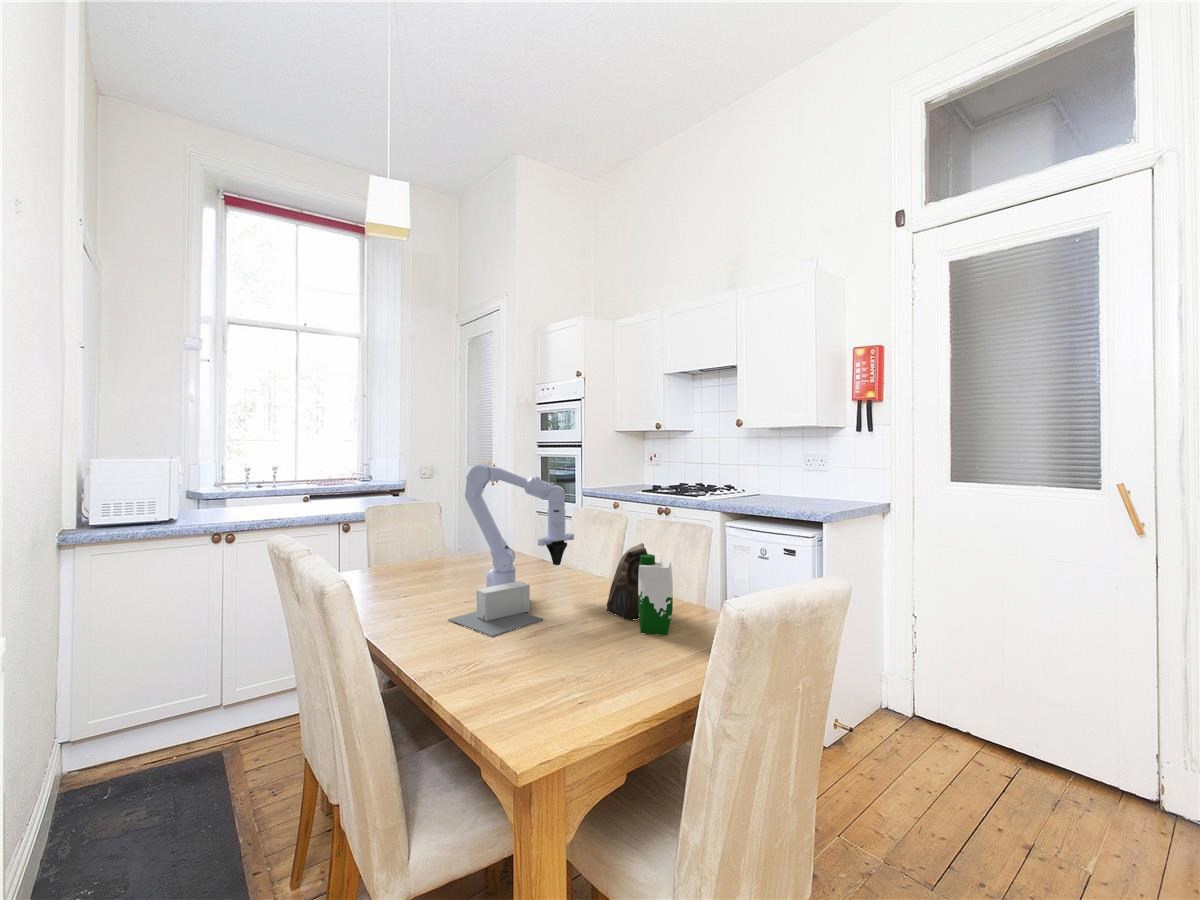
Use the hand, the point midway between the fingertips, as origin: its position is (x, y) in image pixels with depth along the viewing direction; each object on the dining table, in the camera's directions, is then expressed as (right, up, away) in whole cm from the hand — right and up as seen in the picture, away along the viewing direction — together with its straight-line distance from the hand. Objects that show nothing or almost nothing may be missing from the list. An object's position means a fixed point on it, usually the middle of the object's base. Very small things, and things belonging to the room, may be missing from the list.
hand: (556, 564), depth 180 cm
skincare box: (-8, -7, -15) cm, 18 cm away
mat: (-16, -11, -23) cm, 30 cm away
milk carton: (+29, -11, -32) cm, 45 cm away
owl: (+22, -11, -17) cm, 30 cm away
